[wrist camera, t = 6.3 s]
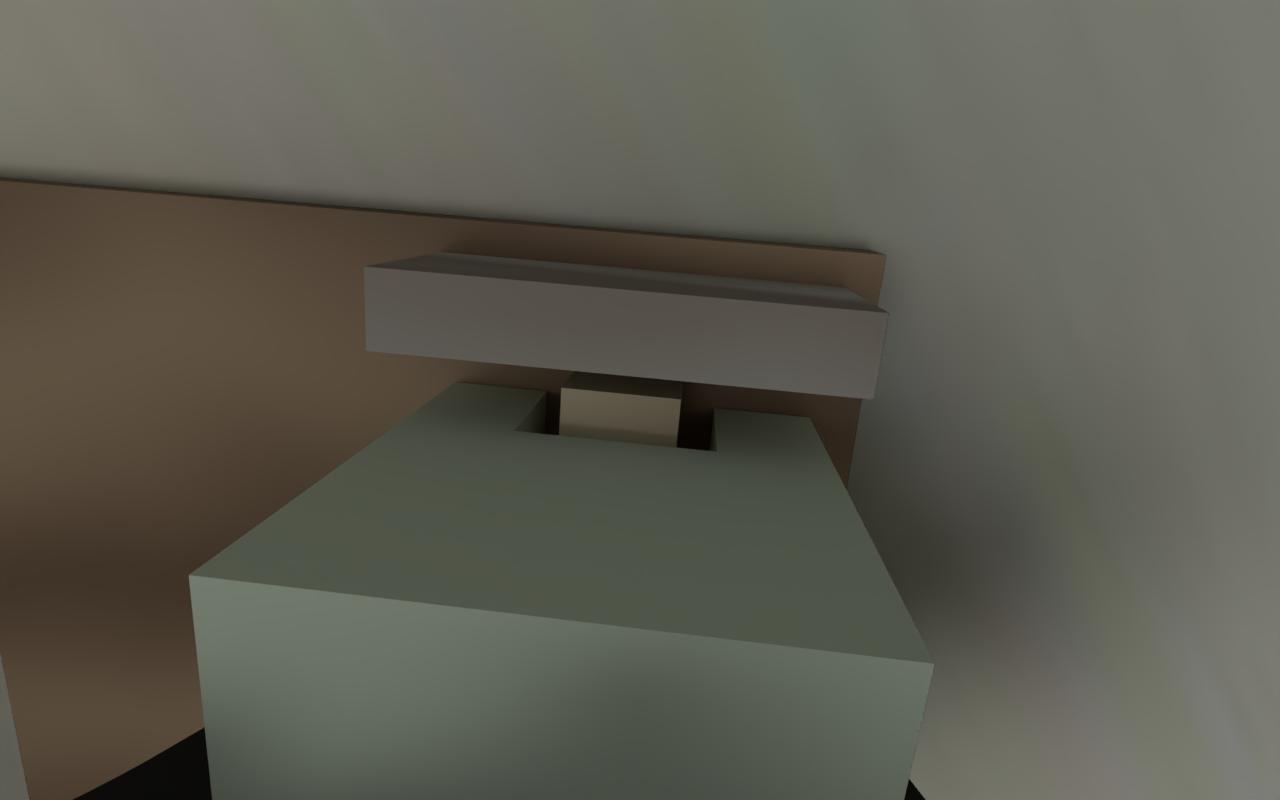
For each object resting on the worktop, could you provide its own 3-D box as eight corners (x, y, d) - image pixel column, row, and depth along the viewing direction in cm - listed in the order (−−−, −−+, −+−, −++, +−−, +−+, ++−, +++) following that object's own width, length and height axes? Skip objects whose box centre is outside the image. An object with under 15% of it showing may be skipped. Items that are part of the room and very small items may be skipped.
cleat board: (753, 962, 15) (767, 1179, 12) (89, 867, 16) (-72, 1042, 13) (870, 250, 11) (943, 271, 8) (-32, 175, 12) (-317, 164, 9)
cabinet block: (746, 834, 13) (782, 1342, 7) (451, 795, 13) (259, 1249, 7) (809, 417, 11) (935, 663, 5) (455, 382, 11) (188, 575, 5)
